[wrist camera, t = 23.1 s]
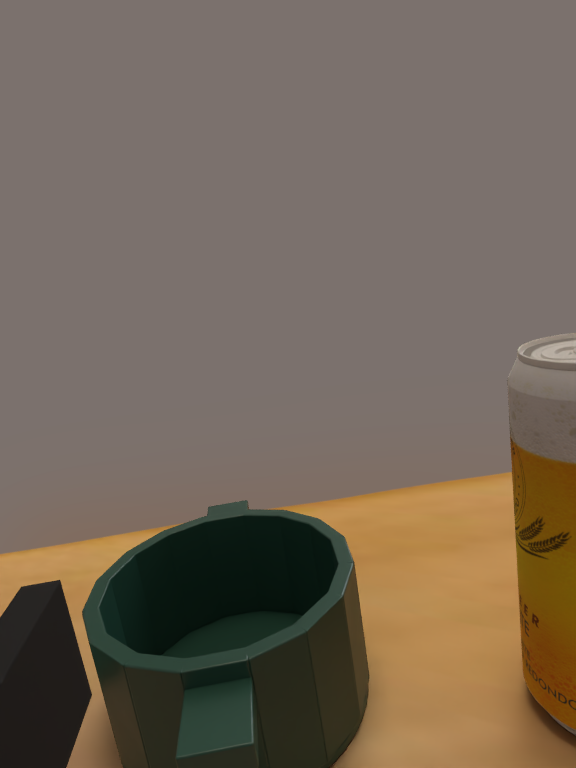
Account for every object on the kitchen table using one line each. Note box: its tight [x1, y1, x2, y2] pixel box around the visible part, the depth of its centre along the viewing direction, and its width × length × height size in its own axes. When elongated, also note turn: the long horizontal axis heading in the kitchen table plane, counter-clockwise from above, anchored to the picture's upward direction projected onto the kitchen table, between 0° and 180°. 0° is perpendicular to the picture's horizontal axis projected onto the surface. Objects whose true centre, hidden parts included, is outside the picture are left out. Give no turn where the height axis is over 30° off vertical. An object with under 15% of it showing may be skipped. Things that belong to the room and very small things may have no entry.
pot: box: [82, 500, 369, 768], centre depth 25 cm, size 12×17×6 cm
